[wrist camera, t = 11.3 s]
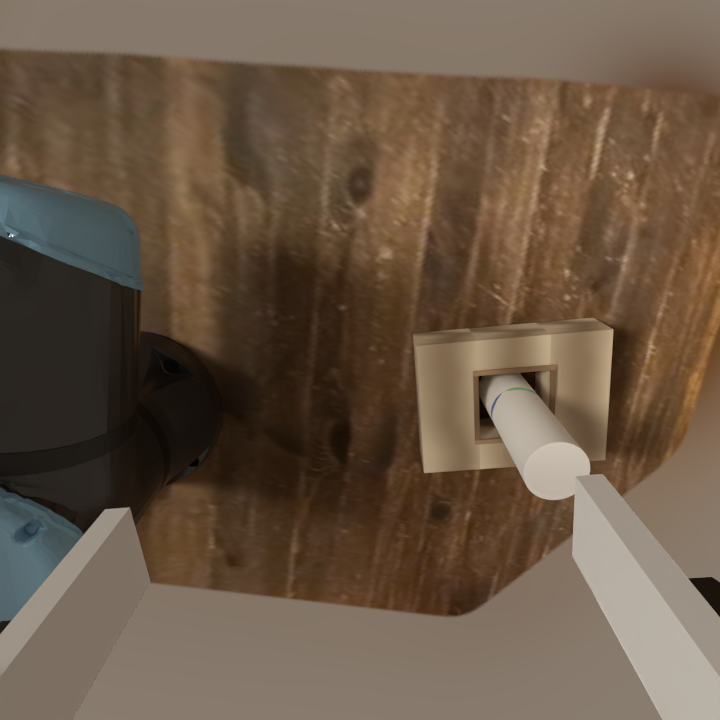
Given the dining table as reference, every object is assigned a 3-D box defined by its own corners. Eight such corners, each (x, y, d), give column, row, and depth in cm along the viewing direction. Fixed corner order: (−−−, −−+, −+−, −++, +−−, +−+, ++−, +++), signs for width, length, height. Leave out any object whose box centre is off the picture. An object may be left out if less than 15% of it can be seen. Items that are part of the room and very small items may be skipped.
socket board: (420, 451, 50) (424, 474, 46) (412, 333, 46) (416, 346, 42) (587, 439, 49) (606, 461, 45) (593, 317, 45) (614, 330, 41)
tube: (533, 392, 47) (602, 478, 33) (493, 417, 48) (544, 511, 34) (509, 357, 46) (569, 429, 32) (469, 382, 47) (510, 465, 33)
